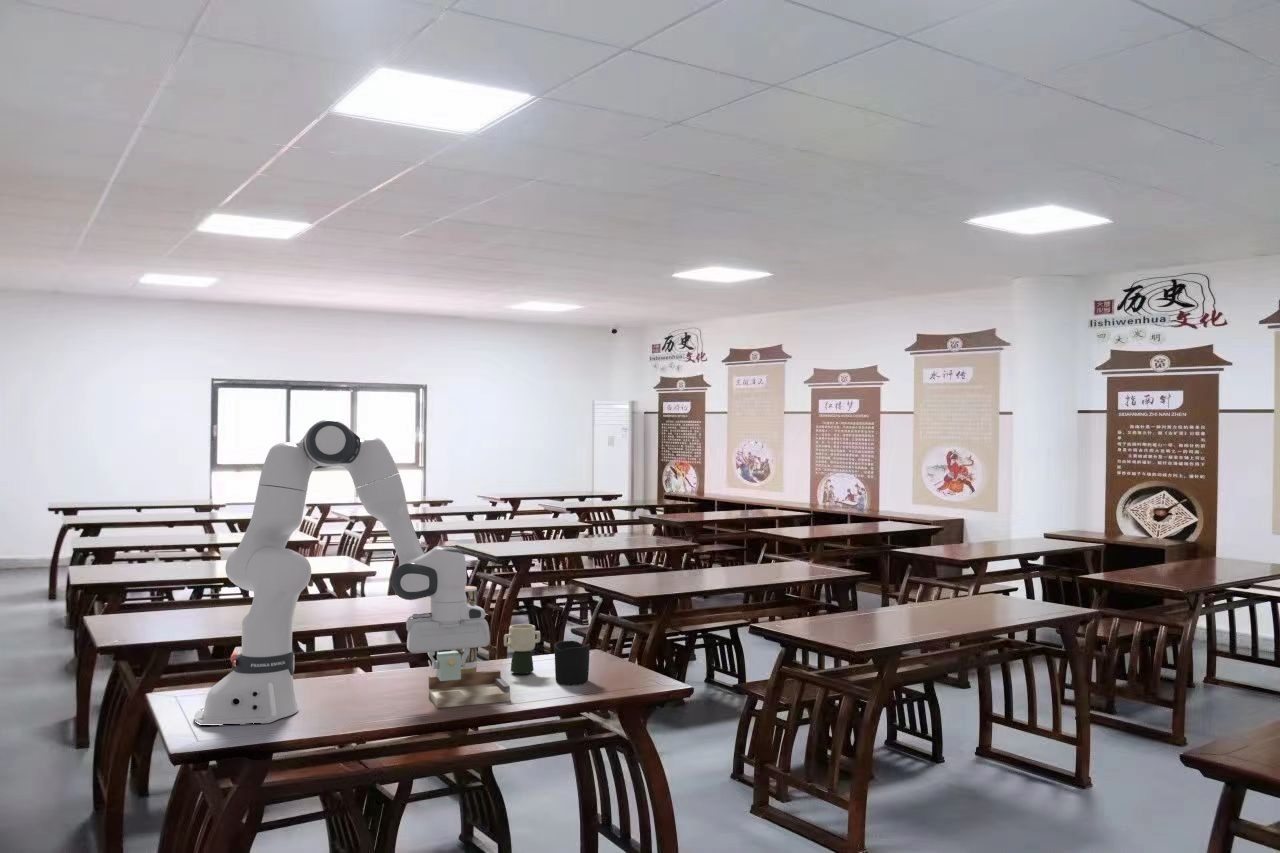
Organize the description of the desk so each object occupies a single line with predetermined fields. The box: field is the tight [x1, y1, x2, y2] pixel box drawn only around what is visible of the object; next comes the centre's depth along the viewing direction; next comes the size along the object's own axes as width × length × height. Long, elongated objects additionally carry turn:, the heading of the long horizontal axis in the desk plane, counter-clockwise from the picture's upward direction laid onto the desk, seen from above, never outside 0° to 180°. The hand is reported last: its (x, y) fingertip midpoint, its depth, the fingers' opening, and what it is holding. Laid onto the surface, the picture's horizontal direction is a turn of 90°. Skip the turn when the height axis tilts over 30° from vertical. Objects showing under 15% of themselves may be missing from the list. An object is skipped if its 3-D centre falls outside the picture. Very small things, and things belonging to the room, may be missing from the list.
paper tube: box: [450, 585, 478, 673], centre depth 257 cm, size 7×7×25 cm
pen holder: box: [553, 640, 591, 686], centre depth 258 cm, size 9×9×10 cm
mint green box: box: [436, 650, 461, 681], centre depth 239 cm, size 5×6×6 cm
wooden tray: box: [428, 669, 511, 709], centre depth 240 cm, size 18×12×5 cm, turn 112°
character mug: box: [503, 623, 541, 675], centre depth 267 cm, size 11×7×13 cm, turn 121°
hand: (448, 667), depth 240 cm, fingers closed on mint green box, 5 cm apart
